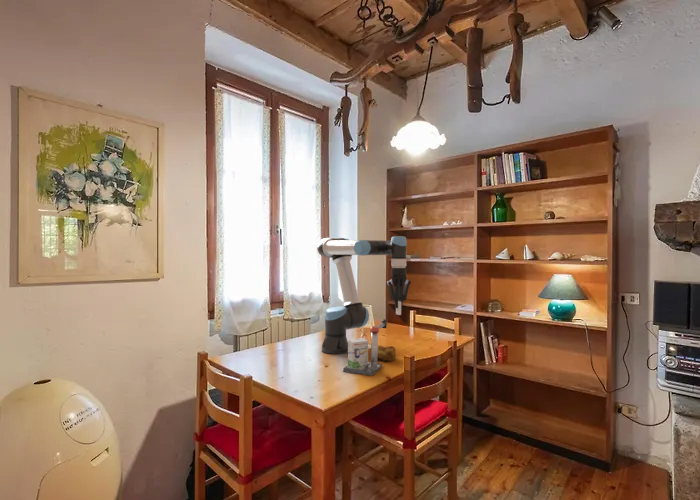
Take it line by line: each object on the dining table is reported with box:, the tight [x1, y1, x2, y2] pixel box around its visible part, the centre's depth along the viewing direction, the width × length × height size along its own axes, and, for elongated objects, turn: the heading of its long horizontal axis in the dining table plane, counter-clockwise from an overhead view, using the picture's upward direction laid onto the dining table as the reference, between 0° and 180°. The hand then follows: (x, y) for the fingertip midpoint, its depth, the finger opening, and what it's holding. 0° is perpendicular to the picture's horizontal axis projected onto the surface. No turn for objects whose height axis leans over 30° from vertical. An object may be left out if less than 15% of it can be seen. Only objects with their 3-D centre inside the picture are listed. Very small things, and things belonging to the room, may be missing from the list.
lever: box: [369, 318, 388, 334], centre depth 178 cm, size 4×18×4 cm, turn 157°
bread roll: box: [378, 345, 397, 362], centre depth 189 cm, size 13×10×8 cm
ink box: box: [347, 337, 369, 367], centre depth 175 cm, size 9×5×12 cm, turn 117°
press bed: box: [342, 332, 383, 377], centre depth 174 cm, size 15×14×18 cm
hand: (398, 314), depth 186 cm, fingers closed
